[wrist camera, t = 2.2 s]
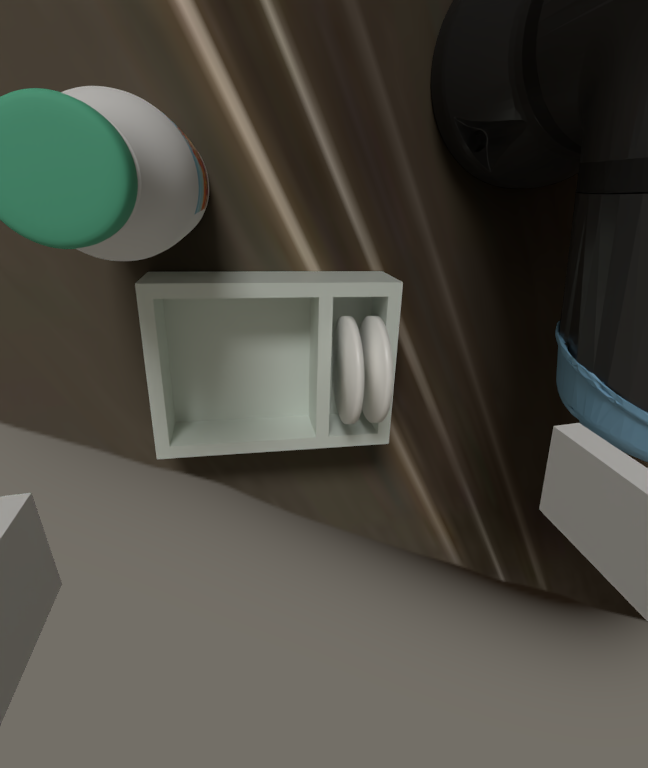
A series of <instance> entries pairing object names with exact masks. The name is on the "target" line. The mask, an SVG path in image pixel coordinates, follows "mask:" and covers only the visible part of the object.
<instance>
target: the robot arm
mask: <svg viewBox="0 0 648 768" xmlns="http://www.w3.org/2000/svg"><path fill="white" fill-rule="evenodd" d="M431 93H432V103H433V109H434V114H435V118H436V122H437V125H438V128H439V131H440V133H441V136H442V138H443V140H444V142H445V144H446V146H447V147H448V149H449V151H450V152H451V154H452V155H453V157H454V158H455V159H456V160H457V162H458V163H459V164H460V165H461V166H462V167H463V168H464V169H465V170H467V171H468V172H469V173H470V174H472V175H473V176H474V177H476V178H478V179H480V180H482V181H484V182H486V183H488V184H491V185H494V186H498V187H504V188H536V187H542V186H547V185H551V184H554V183H557V182H560V181H563V180H565V179H567V178H569V177H571V176H573V175H575V174H577V173H578V172H579V173H578V182H577V190H576V196H575V206H574V214H573V223H572V231H571V239H570V247H569V256H568V264H567V272H566V281H565V289H564V297H563V305H562V314H561V320H560V321H559V322H558V323H557V326H556V332H555V334H556V340H557V343H558V359H557V376H556V383H557V389H558V392H559V395H560V398H561V400H562V402H563V404H564V405H565V406H566V408H567V409H568V410H569V411H570V413H571V414H572V415H573V416H575V417H576V418H578V419H579V422H580V423H581V424H580V423H574V424H566V425H558V426H553V432H552V438H551V444H550V449H549V455H548V461H547V467H546V473H545V478H544V484H543V490H542V496H541V502H540V507H539V510H540V511H541V512H542V513H543V514H544V515H545V516H546V517H547V518H548V519H549V520H550V521H551V522H552V523H553V524H554V525H555V526H556V527H557V528H558V529H559V530H560V531H561V532H562V533H563V535H564V536H565V537H566V538H567V539H568V540H569V541H570V542H571V543H572V544H573V545H574V546H575V547H576V548H577V549H578V550H579V551H580V552H581V553H582V554H583V555H584V556H585V557H586V558H587V559H588V560H589V561H590V562H591V563H592V565H593V566H594V567H595V568H596V569H597V570H598V571H599V572H600V573H601V574H602V575H603V576H604V577H605V578H606V579H607V580H608V581H609V582H610V583H611V584H612V585H613V586H614V587H615V588H616V589H617V590H618V591H619V592H620V593H621V594H622V596H623V597H624V598H625V599H626V600H627V601H628V602H629V603H630V604H631V605H632V606H633V607H634V608H635V609H636V610H637V611H638V612H639V613H640V614H641V615H642V616H643V617H644V618H645V619H646V620H647V621H648V468H646V467H645V466H643V465H642V464H640V463H639V462H637V461H636V460H634V459H633V458H631V457H630V456H628V455H627V454H629V455H632V456H634V457H636V458H639V459H641V460H644V461H646V462H648V0H454V1H453V2H452V4H451V6H450V8H449V10H448V12H447V14H446V16H445V18H444V21H443V23H442V26H441V29H440V32H439V35H438V38H437V42H436V46H435V50H434V56H433V62H432V72H431ZM622 451H623V452H622ZM624 452H625V453H627V454H625V453H624ZM61 585H62V583H61V580H60V577H59V574H58V571H57V568H56V565H55V562H54V559H53V556H52V553H51V550H50V547H49V544H48V541H47V538H46V535H45V532H44V529H43V526H42V523H41V520H40V517H39V514H38V511H37V508H36V505H35V502H34V499H33V496H32V493H25V494H17V495H9V496H1V497H0V725H1V722H2V720H3V718H4V716H5V713H6V711H7V709H8V706H9V704H10V702H11V700H12V697H13V695H14V693H15V690H16V688H17V686H18V683H19V681H20V679H21V677H22V674H23V672H24V670H25V667H26V665H27V663H28V661H29V658H30V656H31V654H32V651H33V649H34V647H35V644H36V642H37V640H38V638H39V635H40V633H41V631H42V628H43V626H44V624H45V622H46V619H47V617H48V614H49V612H50V610H51V608H52V606H53V603H54V601H55V599H56V596H57V594H58V592H59V589H60V587H61Z"/></svg>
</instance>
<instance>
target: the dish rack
mask: <svg viewBox="0 0 648 768" xmlns="http://www.w3.org/2000/svg"><path fill="white" fill-rule="evenodd" d="M402 288H403V282H401V281H400V280H398V279H396V278H394V277H392V276H390V275H388V274H386V273H385V272H383V271H274V272H147V273H146V274H145V275H144V276H143V277H142V278H140V279H139V280H138V281H137V282H136V283H135V289H136V297H137V305H138V313H139V321H140V329H141V337H142V345H143V353H144V361H145V369H146V377H147V385H148V392H149V400H150V408H151V416H152V424H153V432H154V440H155V448H156V456H157V459H169V458H184V457H198V456H213V455H228V454H243V453H258V452H273V451H288V450H303V449H317V448H332V447H347V446H362V445H377V444H389V435H390V423H391V412H392V401H393V389H394V378H395V367H396V356H397V344H398V333H399V322H400V311H401V299H402Z"/></svg>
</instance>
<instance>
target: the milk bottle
mask: <svg viewBox="0 0 648 768" xmlns="http://www.w3.org/2000/svg"><path fill="white" fill-rule="evenodd" d="M208 199H209V180H208V174H207V170H206V167H205V165H204V162H203V160H202V158H201V156H200V154H199V152H198V151H197V149H196V148H195V146H194V145H193V144H192V143H191V141H190V140H189V139H188V138H187V137H186V135H185V134H184V133H183V132H182V131H181V130H180V129H179V128H178V127H177V126H176V125H175V124H174V123H173V122H172V121H171V120H170V119H169V118H168V117H167V116H166V115H165V114H164V113H162V112H161V111H159V110H158V109H157V108H155V107H154V106H153V105H151V104H150V103H148V102H147V101H145V100H143V99H142V98H140V97H138V96H135V95H133V94H131V93H128V92H125V91H122V90H118V89H114V88H109V87H103V86H84V87H78V88H73V89H70V90H66V91H63V92H57V91H54V90H48V89H40V88H30V89H22V90H17V91H14V92H11V93H8V94H6V95H3V96H1V97H0V220H1V221H2V222H3V223H5V224H6V225H7V226H8V227H9V228H11V229H12V230H14V231H15V232H17V233H18V234H20V235H22V236H23V237H25V238H27V239H29V240H31V241H34V242H36V243H39V244H41V245H45V246H48V247H53V248H60V249H77V250H79V251H81V252H83V253H86V254H89V255H91V256H94V257H97V258H101V259H106V260H111V261H136V260H142V259H146V258H149V257H152V256H155V255H157V254H159V253H161V252H164V251H165V250H167V249H169V248H171V247H172V246H173V245H175V244H176V243H178V242H179V241H180V240H181V239H183V238H184V237H185V236H186V235H187V234H188V233H189V232H191V231H192V230H193V229H194V228H195V226H196V225H197V224H198V223H199V221H200V220H201V218H202V216H203V214H204V212H205V210H206V207H207V203H208Z"/></svg>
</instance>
